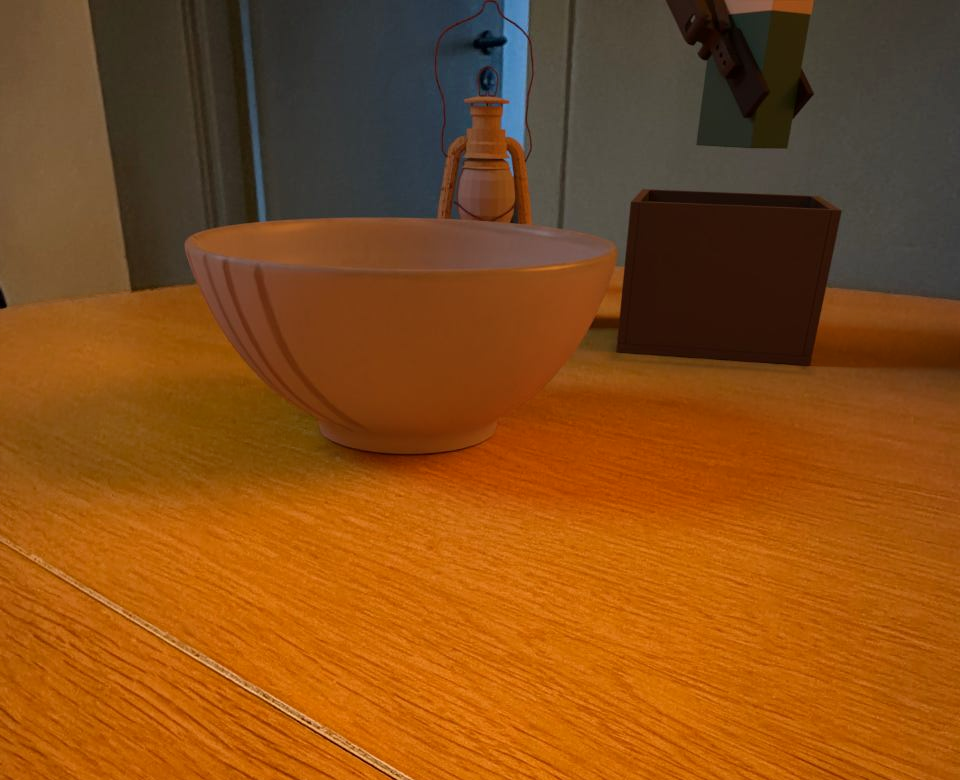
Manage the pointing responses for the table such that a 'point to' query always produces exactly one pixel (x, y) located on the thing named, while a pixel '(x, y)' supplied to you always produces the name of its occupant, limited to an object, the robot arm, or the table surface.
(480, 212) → the lantern
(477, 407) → the decorative bowl
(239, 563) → the table surface
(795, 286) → the waste bin
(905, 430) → the table surface
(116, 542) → the table surface
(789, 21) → the block
